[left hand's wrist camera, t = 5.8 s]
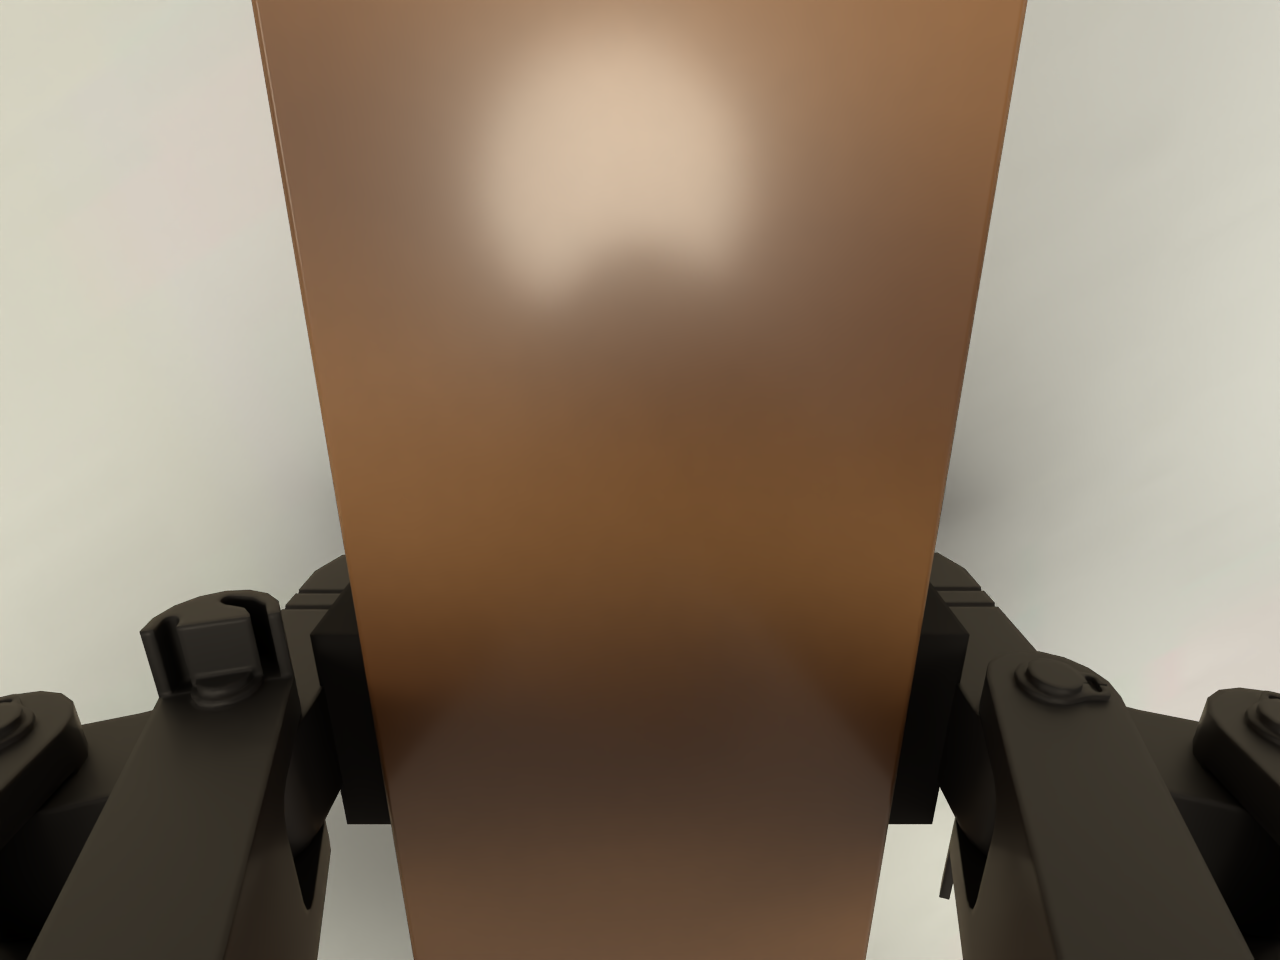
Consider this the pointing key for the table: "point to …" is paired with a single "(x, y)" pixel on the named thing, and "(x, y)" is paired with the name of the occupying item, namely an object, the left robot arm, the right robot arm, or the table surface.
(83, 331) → the table surface
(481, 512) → the post
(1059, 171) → the table surface
